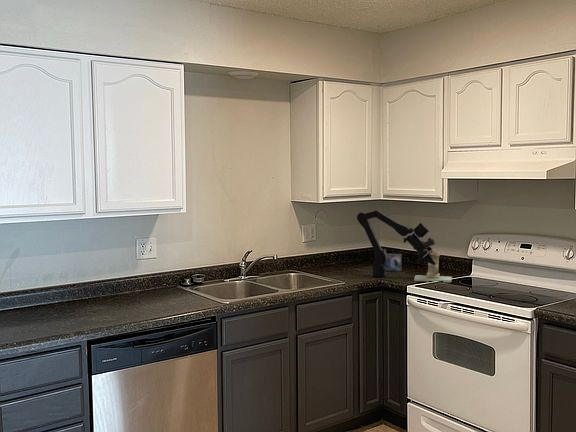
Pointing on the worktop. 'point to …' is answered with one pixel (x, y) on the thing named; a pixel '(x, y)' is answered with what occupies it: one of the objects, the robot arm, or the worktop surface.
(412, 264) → the worktop surface
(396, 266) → the small box
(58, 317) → the worktop surface
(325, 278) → the worktop surface
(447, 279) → the board
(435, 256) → the tan turned knob
